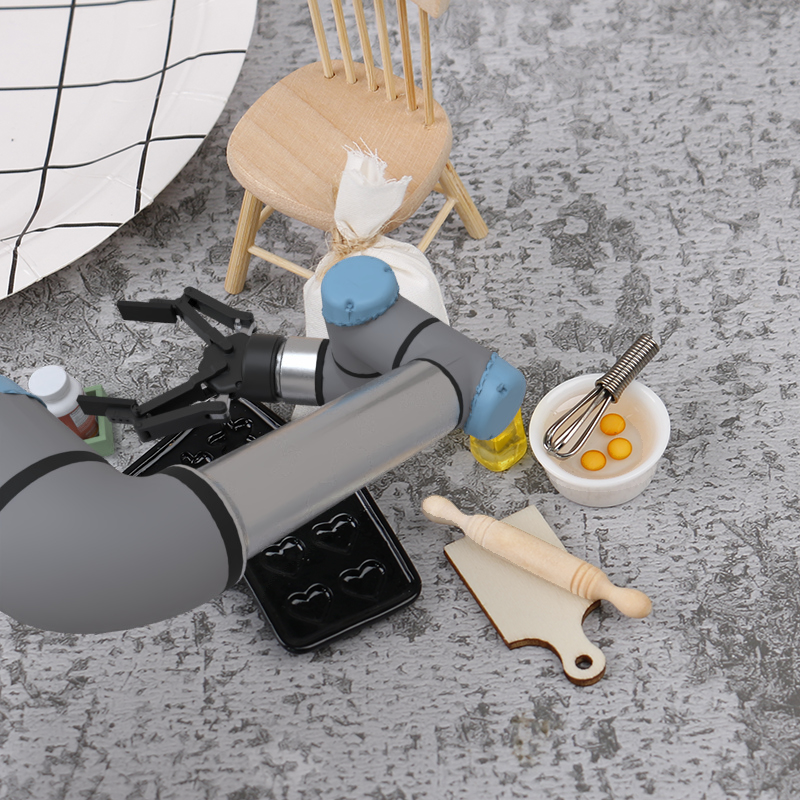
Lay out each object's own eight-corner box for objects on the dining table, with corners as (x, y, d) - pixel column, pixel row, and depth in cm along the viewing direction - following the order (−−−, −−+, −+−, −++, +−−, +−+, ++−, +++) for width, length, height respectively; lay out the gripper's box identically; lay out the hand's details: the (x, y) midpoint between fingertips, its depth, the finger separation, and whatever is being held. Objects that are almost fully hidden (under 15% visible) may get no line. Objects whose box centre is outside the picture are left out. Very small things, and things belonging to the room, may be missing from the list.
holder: (114, 454, 121) (106, 439, 118) (44, 472, 120) (33, 457, 117) (109, 399, 126) (101, 383, 123) (41, 416, 125) (31, 400, 122)
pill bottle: (45, 440, 122) (10, 390, 113) (75, 404, 125) (43, 353, 116) (82, 457, 120) (50, 407, 111) (111, 420, 123) (82, 369, 114)
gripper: (265, 485, 99) (75, 467, 102) (312, 306, 113) (144, 295, 116) (251, 446, 93) (50, 428, 96) (302, 263, 107) (126, 252, 110)
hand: (101, 355), depth 106 cm, fingers open, 13 cm apart
